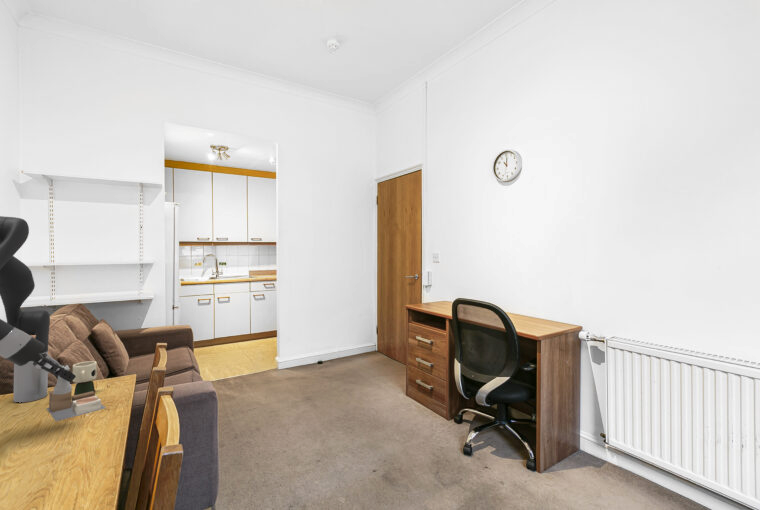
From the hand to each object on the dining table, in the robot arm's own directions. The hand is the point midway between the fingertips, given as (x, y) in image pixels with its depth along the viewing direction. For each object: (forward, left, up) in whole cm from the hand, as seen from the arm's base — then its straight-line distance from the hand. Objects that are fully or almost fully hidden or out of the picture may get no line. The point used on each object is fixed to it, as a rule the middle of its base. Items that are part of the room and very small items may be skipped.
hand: (71, 377), depth 111 cm
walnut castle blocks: (-18, +4, -14) cm, 23 cm away
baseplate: (-13, +4, -16) cm, 21 cm away
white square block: (-10, +6, -14) cm, 18 cm away
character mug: (-27, +9, -16) cm, 33 cm away
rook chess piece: (0, -2, -4) cm, 5 cm away
